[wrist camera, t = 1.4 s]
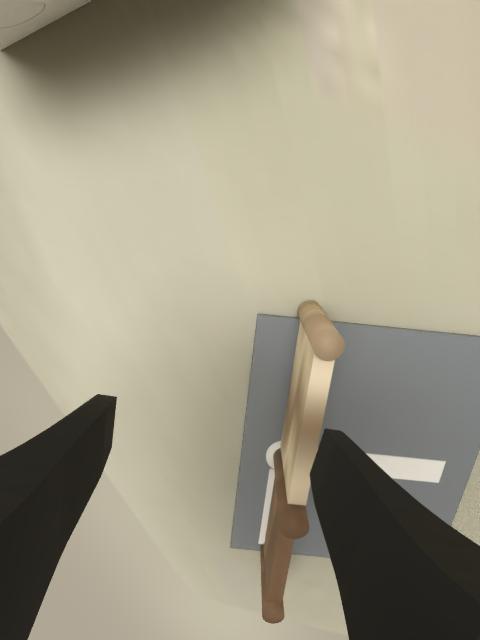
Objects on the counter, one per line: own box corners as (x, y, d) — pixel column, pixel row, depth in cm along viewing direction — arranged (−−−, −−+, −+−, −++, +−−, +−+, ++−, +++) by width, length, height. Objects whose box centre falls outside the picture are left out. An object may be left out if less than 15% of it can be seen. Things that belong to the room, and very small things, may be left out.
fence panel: (297, 445, 23) (311, 512, 18) (277, 443, 23) (284, 509, 18) (323, 301, 20) (347, 333, 15) (299, 299, 20) (316, 330, 15)
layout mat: (516, 339, 21) (520, 341, 21) (433, 564, 27) (435, 569, 27) (257, 313, 21) (257, 315, 21) (230, 544, 27) (230, 548, 27)
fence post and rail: (297, 444, 24) (311, 517, 18) (278, 551, 27) (285, 642, 22) (274, 442, 24) (281, 514, 18) (258, 549, 27) (260, 640, 22)
